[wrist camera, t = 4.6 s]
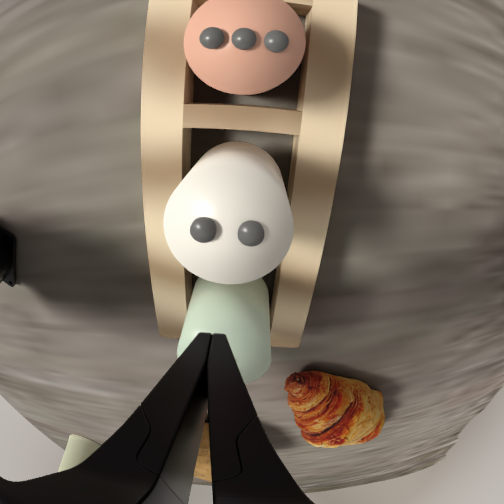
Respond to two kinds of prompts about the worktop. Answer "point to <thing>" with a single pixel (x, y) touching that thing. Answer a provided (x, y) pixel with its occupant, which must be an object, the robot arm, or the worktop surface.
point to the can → (77, 451)
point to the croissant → (334, 409)
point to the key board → (253, 119)
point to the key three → (244, 44)
